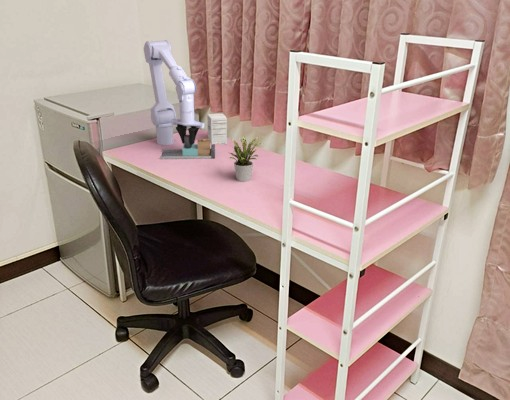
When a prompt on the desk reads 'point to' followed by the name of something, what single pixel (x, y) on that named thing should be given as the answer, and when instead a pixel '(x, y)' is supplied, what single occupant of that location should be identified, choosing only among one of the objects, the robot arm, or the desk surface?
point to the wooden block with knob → (203, 147)
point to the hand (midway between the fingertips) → (188, 143)
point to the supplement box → (217, 128)
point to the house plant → (244, 159)
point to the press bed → (179, 155)
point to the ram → (189, 147)
